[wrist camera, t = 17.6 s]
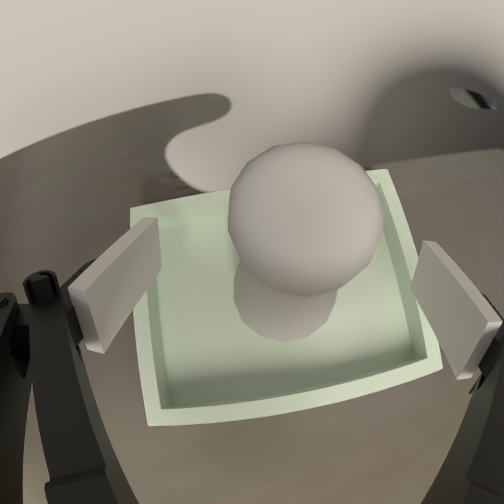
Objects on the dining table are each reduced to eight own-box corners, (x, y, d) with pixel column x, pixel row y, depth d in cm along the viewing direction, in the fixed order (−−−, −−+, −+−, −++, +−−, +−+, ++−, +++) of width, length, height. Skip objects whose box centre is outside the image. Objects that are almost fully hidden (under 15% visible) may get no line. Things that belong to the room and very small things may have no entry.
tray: (160, 419, 18) (148, 425, 15) (142, 222, 22) (130, 208, 20) (425, 368, 18) (442, 368, 16) (377, 185, 22) (387, 169, 20)
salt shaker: (302, 359, 18) (373, 362, 6) (220, 317, 19) (145, 246, 7) (341, 277, 20) (436, 162, 8) (263, 239, 21) (259, 87, 9)
